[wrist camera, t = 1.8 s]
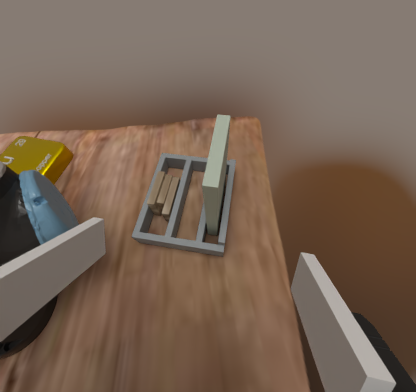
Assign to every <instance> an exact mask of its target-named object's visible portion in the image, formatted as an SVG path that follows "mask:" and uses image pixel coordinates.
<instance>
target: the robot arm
mask: <svg viewBox="0 0 416 392" xmlns="http://www.w3.org/2000/svg"><path fill="white" fill-rule="evenodd" d="M104 254H106V250H105V232H104V219H101V218H95V217H93V218H91V219H89V220H87V221H86V222H84V223H82V224H80V225H79V224H78V221H77V219H76V217H75V215H74V213H73V211H72V209H71V208H70V206H69V204H68V203H67V201H66V200H65V199H64V197H63V196H62V194H61V193H60V192H59V191H58V189H57V188H56V187H55V186H54V185H53V184H52V183H51V182H50V180H48V179H47V178H46V177H45V176H44V175H42V174H40V173H39V172H38V171H36V170H28V171H22V172H21V173H20V174H17V173H15V172H14V171H13V170H11V169H10V168H9V167H8V166H6V165H5V164H4V163H3V162H1V161H0V358H4V357H8V356H10V355H13V354H15V353H17V352H18V351H20V350H22V349H23V348H25V347H26V346H27V345H28V344H30V343H31V342H32V341H33V340H34V339H35V338H36V337H37V336H38V335H39V334H40V332H41V331H42V330H43V328H44V327H45V326H46V324H47V322H48V321H49V319H50V317H51V315H52V313H53V310H54V307H55V304H56V299H57V294H58V293H59V292H61V291H62V290H63V289H64V288H65V287H67V286H68V285H69V284H70V283H71V282H72V281H74V280H75V279H76V278H77V277H78V276H80V275H81V274H82V273H83V272H84V271H86V270H87V269H88V268H89V267H90V266H91V265H93V264H94V263H95V262H96V261H97V260H99V259H100V258H101V257H102V256H103V255H104ZM291 291H292V294H293V297H294V300H295V303H296V306H297V309H298V312H299V315H300V318H301V321H302V324H303V327H304V330H305V333H306V336H307V339H308V342H309V345H310V348H311V350H312V354H313V357H314V359H315V363H316V365H317V369H318V371H319V374H320V377H321V380H322V383H323V386H324V389H325V392H416V385H415V383H414V382H413V380H412V379H411V378H410V376H409V375H408V373H407V372H406V371H405V369H404V368H403V366H402V365H401V364H400V362H399V361H398V359H397V358H396V357H395V355H394V354H393V353H392V351H390V348H389V347H388V345H387V344H386V343H385V341H384V340H382V337H381V336H380V334H379V333H378V332H377V330H376V329H375V327H374V326H373V325H372V324H371V323H370V322H369V321H368V320H367V319H366V318H364V317H363V316H362V315H361V314H358V313H353V312H350V310H349V309H348V307H347V306H346V304H345V302H344V301H343V299H342V298H341V296H340V295H339V293H338V291H337V290H336V288H335V287H334V285H333V284H332V282H331V281H330V279H329V278H328V276H327V274H326V273H325V271H324V270H323V268H322V266H321V265H320V263H319V262H318V260H317V259H316V257H315V256H314V255H313V254H307V253H301V254H300V257H299V261H298V265H297V268H296V272H295V275H294V279H293V283H292V286H291Z"/></svg>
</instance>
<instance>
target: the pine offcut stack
mask: <svg viewBox="0 0 416 392" xmlns="http://www.w3.org/2000/svg"><path fill="white" fill-rule="evenodd" d="M179 184H180V178H178V177H173V176H172V175H166V174H165V172H161V171H158V173H157V176H156V179H155V182H154V184H153V187H152V190H151V193H150V196H149V199H148V201H147V205H148V206H149V207H150V209H151V210H152V212H153V213H154V215H158V216H161V215H163V216H164V218H165V220H166V221H169V220H170V216H171V212H172V209H173V205H174V202H175V198H176V195H177V191H178V188H179Z"/></svg>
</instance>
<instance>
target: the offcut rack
mask: <svg viewBox="0 0 416 392" xmlns="http://www.w3.org/2000/svg"><path fill="white" fill-rule="evenodd" d="M207 161H208V158H202V157H193V156H184V155H175V154H167V153H162V154H161V157H160V160H159V162H158V165H157V168H156V171H155V173H154V176H153V179H152V182H151V185H150V187H149V190H148V193H147V196H146V198H145V201H144V204H143V207H142V209H141V212H140V215H139V218H138V220H137V223H136V226H135V229H134V231H133V234H132V238H134V239H135V240H136V241H138V242H139V243H145V244H151V245H157V246H163V247H169V248H175V249H181V250H187V251H193V252H199V253H204V254H210V255H216V256H222V257H223V253H224V245H225V238H226V231H227V223H228V216H229V208H230V201H231V193H232V186H233V178H234V171H235V163H236V160H232V159H231V160H230V161H228V160H227V166H226V174H227V175H228V180H227V186H226V193H225V200H224V206H223V213H222V220H221V227H220V233H219V240H218V245H217V244H210V243H204V239H205V234H206V229H207V223H206V214H205V206H204V203H203V208H202V213H201V217H200V222H199V227H198V232H197V237H196V241H192V240H186V239H180V238H176V235H177V231H178V227H179V223H180V219H181V216H182V212H183V208H184V204H185V200H186V196H187V192H188V188H189V184H190V180H191V176H192V172H193V170H195V171H203V172H205V170H206V165H207ZM169 167H170V168H178V169H184V170H183V173H182V177H181V181H180V184H179V188H178V191H177V195H176V198H175V202H174V205H173V209H172V212H171V216H170V220H169V223H168V227H167V230H166V234H165V236H161V235H155V234H149V233H148V229H149V226H150V223H151V220H152V217H153V214H154V213H153V212H152V210H151V209H150V207H149V206H148V205H147V201H148V199H149V196H150V193H151V190H152V187H153V184H154V182H155V179H156V176H157V173H158V171H161V172H165V174H167V171H168V168H169Z"/></svg>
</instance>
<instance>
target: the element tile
mask: <svg viewBox="0 0 416 392" xmlns="http://www.w3.org/2000/svg"><path fill="white" fill-rule="evenodd" d="M72 158H73V153H72V152H71V151H70V150H69V149H68V148H67V147H66V146H65V145H64V144H63V143H60V142H55V141H50V140H44V139H39V138H33V137H28V136H20V137H18V138H17V139H15V140H14V141H13V142H12V143H11V144H10V145H9V147H8V148H7V149H6V150H5V151H4V152H3V153H2V154H1V155H0V161H1V162H3V163H4V164H5V165H6V166H8V167H9V168H10V169H11V170H13V171H14V172H15V173H17V174H20V173H21V172H22V171H28V170H36V171H38V172H39V173H40V174H42V175H44V176H45V177H46V178H47V179H48V180H50V182H51V183H52V184H53V185H54V184H55V182H56V181H57V180H58V178H59V177H60V175H61V174H62V173H63V171H64V170H65V168H66V167H67V166H68V164H69V163H70V161H71V160H72Z"/></svg>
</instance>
